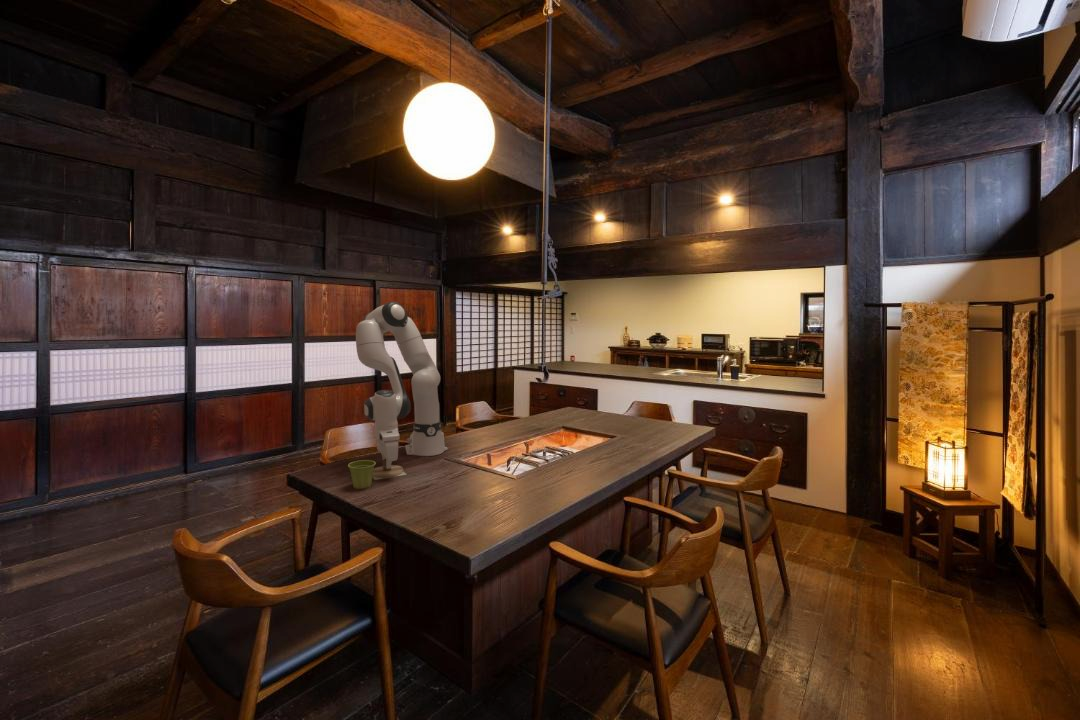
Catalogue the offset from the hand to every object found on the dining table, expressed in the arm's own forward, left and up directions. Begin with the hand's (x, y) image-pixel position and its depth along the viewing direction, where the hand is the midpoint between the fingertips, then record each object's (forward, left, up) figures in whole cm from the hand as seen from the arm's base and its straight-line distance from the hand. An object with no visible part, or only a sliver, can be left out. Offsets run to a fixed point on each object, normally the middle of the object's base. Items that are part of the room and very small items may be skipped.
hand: (387, 466), depth 183 cm
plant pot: (+10, -11, -3) cm, 15 cm away
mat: (0, 0, -3) cm, 3 cm away
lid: (0, 0, -2) cm, 2 cm away
